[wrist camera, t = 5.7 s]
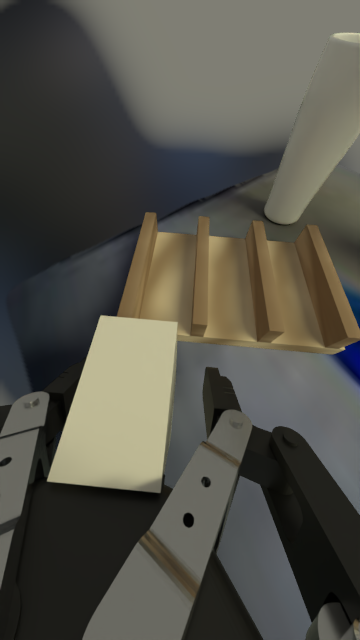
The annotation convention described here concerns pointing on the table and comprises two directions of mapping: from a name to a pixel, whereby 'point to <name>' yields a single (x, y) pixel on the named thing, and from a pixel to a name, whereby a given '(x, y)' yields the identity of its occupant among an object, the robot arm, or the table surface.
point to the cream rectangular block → (121, 408)
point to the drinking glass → (319, 129)
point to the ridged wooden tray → (240, 289)
